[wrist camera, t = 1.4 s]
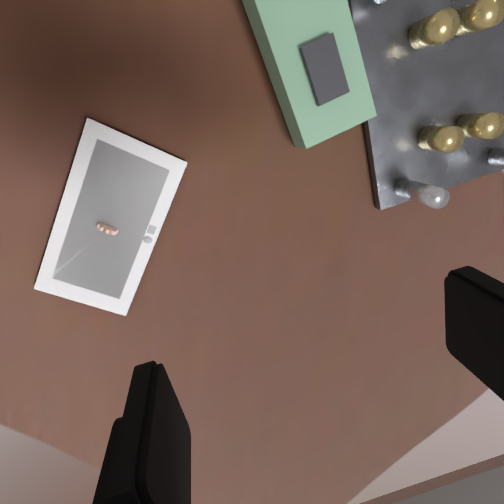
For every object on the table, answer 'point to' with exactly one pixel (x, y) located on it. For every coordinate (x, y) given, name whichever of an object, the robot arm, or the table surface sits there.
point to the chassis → (431, 95)
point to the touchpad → (108, 219)
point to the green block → (312, 65)
